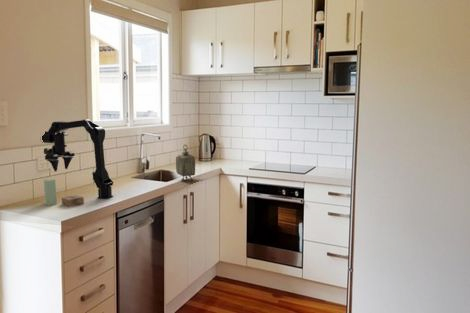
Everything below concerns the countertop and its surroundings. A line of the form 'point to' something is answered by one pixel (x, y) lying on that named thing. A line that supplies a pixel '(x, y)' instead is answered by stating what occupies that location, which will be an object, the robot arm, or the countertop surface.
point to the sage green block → (50, 191)
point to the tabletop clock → (185, 164)
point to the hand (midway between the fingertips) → (60, 170)
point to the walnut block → (72, 200)
